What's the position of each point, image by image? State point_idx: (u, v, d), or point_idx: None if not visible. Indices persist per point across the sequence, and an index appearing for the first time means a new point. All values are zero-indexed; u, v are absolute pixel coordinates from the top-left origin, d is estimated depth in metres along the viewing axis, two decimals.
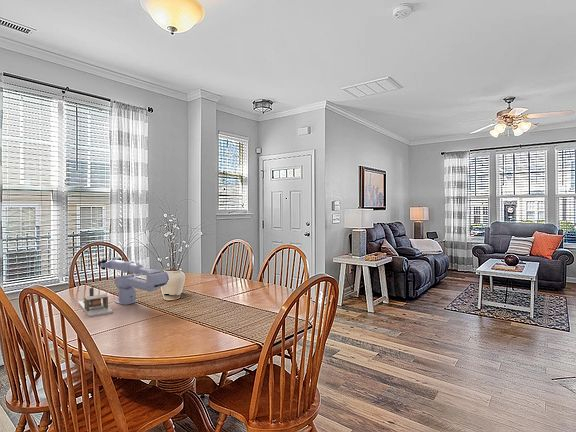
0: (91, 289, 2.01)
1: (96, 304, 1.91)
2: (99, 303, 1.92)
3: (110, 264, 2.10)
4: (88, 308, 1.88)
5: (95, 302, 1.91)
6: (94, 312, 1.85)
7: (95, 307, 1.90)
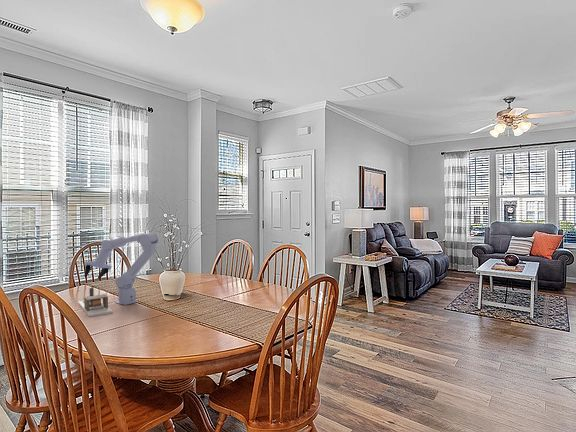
0: (91, 289, 2.01)
1: (96, 304, 1.91)
2: (99, 303, 1.92)
3: (94, 261, 2.08)
4: (88, 308, 1.88)
5: (95, 302, 1.91)
6: (94, 312, 1.85)
7: (95, 307, 1.90)
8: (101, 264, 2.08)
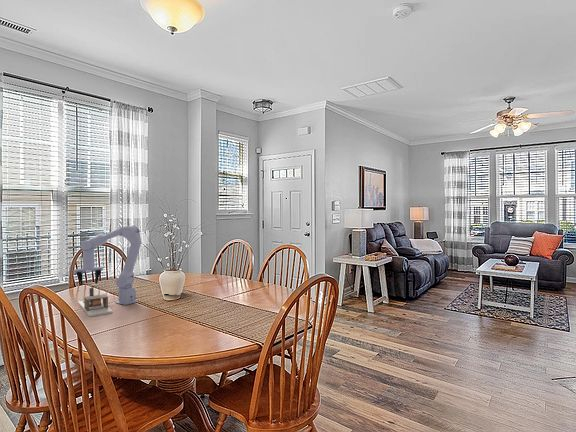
0: (91, 289, 2.01)
1: (96, 304, 1.91)
2: (99, 303, 1.92)
3: (83, 267, 2.06)
4: (88, 308, 1.88)
5: (95, 302, 1.91)
6: (94, 312, 1.85)
7: (95, 307, 1.90)
8: (89, 266, 2.05)
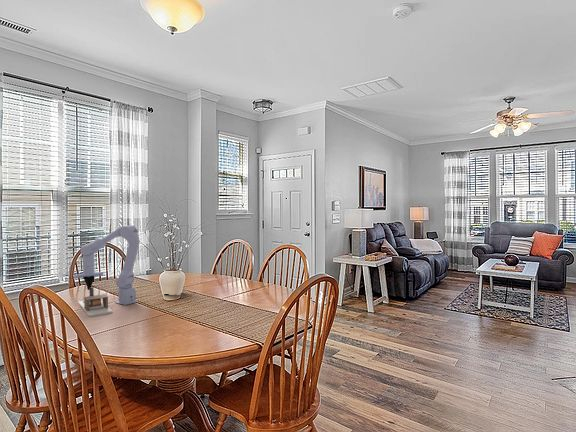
0: (91, 289, 2.01)
1: (96, 304, 1.91)
2: (99, 303, 1.92)
3: (83, 272, 2.06)
4: (88, 308, 1.88)
5: (95, 302, 1.91)
6: (94, 312, 1.85)
7: (95, 307, 1.90)
8: (89, 271, 2.05)
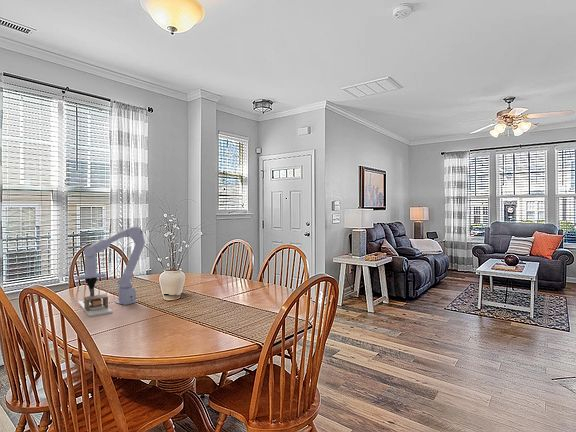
0: (92, 290, 2.00)
1: (97, 305, 1.90)
2: (100, 304, 1.91)
3: (85, 274, 2.01)
4: (88, 308, 1.88)
5: (96, 303, 1.90)
6: (94, 312, 1.85)
7: (96, 308, 1.89)
8: (92, 273, 2.00)
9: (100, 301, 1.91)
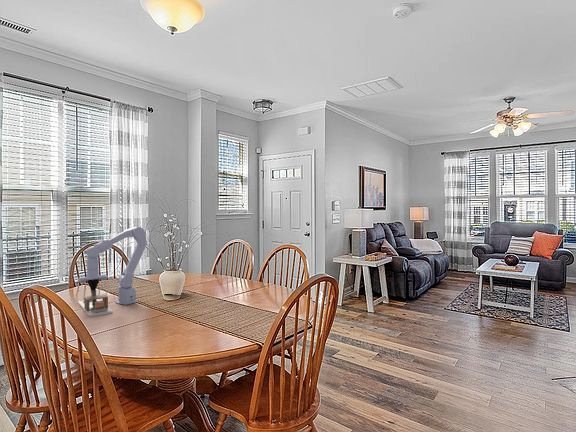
0: (94, 291, 1.96)
1: (99, 307, 1.86)
2: (102, 306, 1.87)
3: (87, 275, 1.97)
4: (88, 308, 1.88)
5: (98, 305, 1.85)
6: None
7: (98, 310, 1.85)
8: (94, 274, 1.96)
9: (102, 303, 1.87)
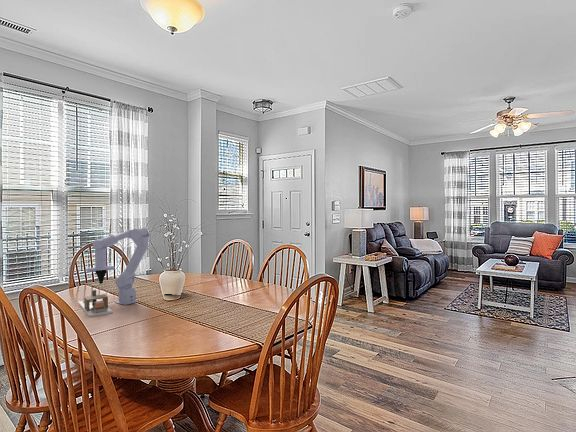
0: (94, 291, 1.96)
1: (99, 307, 1.86)
2: (102, 306, 1.87)
3: (95, 266, 2.08)
4: (88, 308, 1.88)
5: (98, 305, 1.85)
6: None
7: (98, 310, 1.85)
8: (102, 265, 2.07)
9: (102, 303, 1.87)
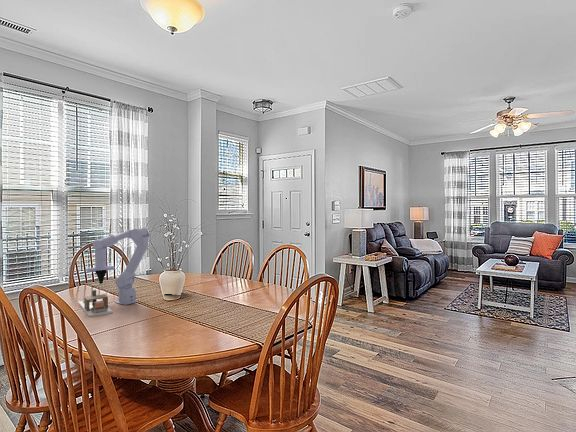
0: (94, 291, 1.96)
1: (99, 307, 1.86)
2: (102, 306, 1.87)
3: (95, 266, 2.08)
4: (88, 308, 1.88)
5: (98, 305, 1.85)
6: None
7: (98, 310, 1.85)
8: (102, 265, 2.07)
9: (102, 303, 1.87)
